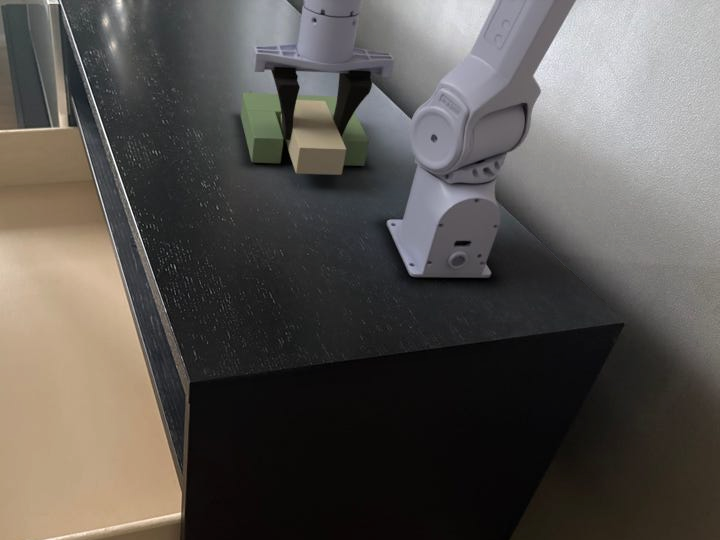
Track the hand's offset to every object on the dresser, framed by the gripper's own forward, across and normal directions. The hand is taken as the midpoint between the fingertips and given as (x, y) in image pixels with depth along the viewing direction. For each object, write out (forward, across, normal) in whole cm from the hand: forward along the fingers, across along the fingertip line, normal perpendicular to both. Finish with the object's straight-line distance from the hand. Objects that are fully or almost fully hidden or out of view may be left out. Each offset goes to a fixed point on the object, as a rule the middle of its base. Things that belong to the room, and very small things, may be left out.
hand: (311, 136), depth 84 cm
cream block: (+1, 0, 0) cm, 1 cm away
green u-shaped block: (+3, 0, -5) cm, 6 cm away
